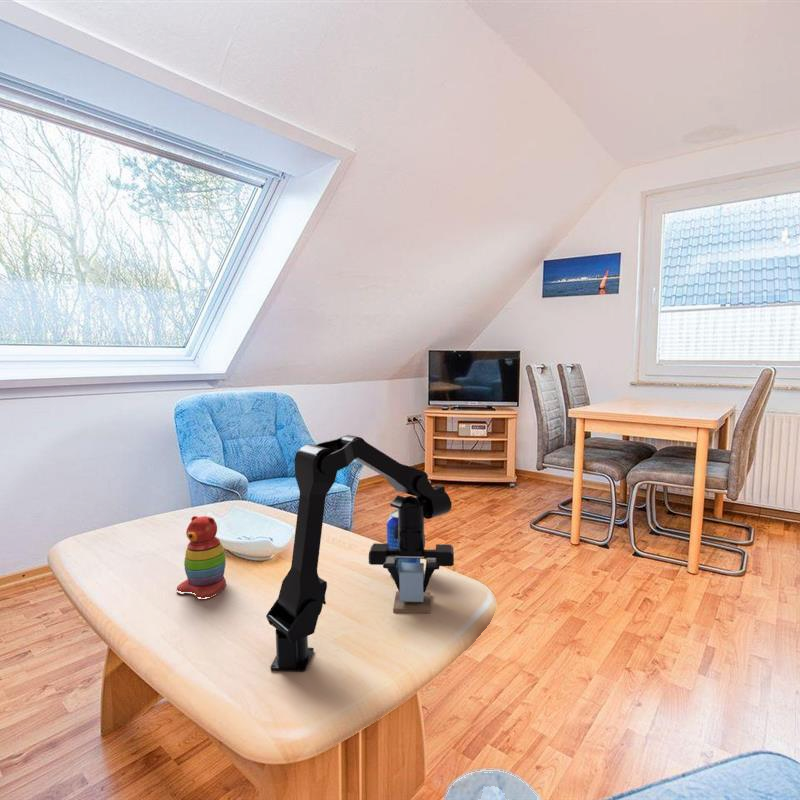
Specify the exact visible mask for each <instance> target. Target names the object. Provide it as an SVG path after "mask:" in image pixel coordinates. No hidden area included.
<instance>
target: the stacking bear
mask: <svg viewBox="0 0 800 800" xmlns="http://www.w3.org/2000/svg"><path fill="white" fill-rule="evenodd" d="M185 531H186V532H185V533H186V534H185V535H186V537H187V539H188V540H189V542H188V544H187V547H186V549H185V555H184V563H183V564H184V565H183V566H184V571H185V575H186V580H184V581H183V582H181V583H180V584H178V585H177V587H176V591H177V590H178V591H181V592H192V593H195V594H196V596H197V597H201V598H205V597H211V596H213V595H215V594H217V593H218V594H220V593H221V592H222V591H223V590H224V589H225V587H226V586H227V581H226V578H225V576H224V575H225V570H226V563H227V562H226V558H227V557H226V553H225V550H224V546H223V544H222V542H221V541H220V539H219V538H218V537H217V536H216V535H217V532H218V524H217V521H216V520H215V518H214V517H211V516H209V515H208V516H206V515H203V516H199V517H198V516H197V515H194V516H192V517H191V521H190V523H189V524H188V526H187V528H186V530H185ZM223 588H224V589H223ZM222 589H223V590H222ZM221 590H222V591H221ZM220 591H221V592H220ZM219 592H220V593H219ZM218 594H217V595H218ZM196 596H195V597H196Z"/></svg>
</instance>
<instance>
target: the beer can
mask: <svg viewBox="0 0 800 800" xmlns="http://www.w3.org/2000/svg"><path fill="white" fill-rule="evenodd" d="M395 525H398V509H395V510H392V511H391V512H390V515H389V517H388V519H387V521H386V544H389V549H399V539H395V538H394V531H395ZM398 563H399V572H400V566H401V563H421V559H413V558H398ZM387 571H388V570H387ZM388 573H389V574H390V572H389V571H388ZM390 576H391V577H392V575H391V574H390Z"/></svg>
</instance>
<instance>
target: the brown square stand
mask: <svg viewBox="0 0 800 800" xmlns="http://www.w3.org/2000/svg"><path fill="white" fill-rule="evenodd" d="M392 613H397V614H398V613H403V614H404V613H405V614H406V613H407V614H409V613H410V614H430V613H431V591H425V592H424V599H423V602H406V601H400V592H399V591H398V590H397V591H395V596H394V603H393V609H392Z"/></svg>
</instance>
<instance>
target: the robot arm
mask: <svg viewBox="0 0 800 800" xmlns="http://www.w3.org/2000/svg"><path fill="white" fill-rule="evenodd" d="M354 460H355V461H356V462H358V463H360V464H361V465H364V466H365V467H367V468H369V469H370V470H372V471H374V472H375V473H378V474H379V475H380V476H382V477H384V478H385V479H386V481H387V483H388V484H389V485H390V486H391V487H392V488H393V489H394V490H395V491H397V492H399V493H400V492H401V493H403V494H407V495H408V496H401V495H399V494H398V495H396V497H395V498H394V499H393V500H392V501H391V502H390V503H389V506H390V507H392V508H395V509H397V510H398V525H395V531H394V538H395V539H399V549H389V544H387V543H377V542H376V543H372V545H371V546H370V549H369V552H368V564H369V565H374V566H381V565H382V567H383V569H387V571H389V572H390V573H389V572H388V573H389V574H390V576H391V575H392V576H391V577H392V579H393V582H394V584H395V586H396V588H397V591H399V592H400V585H399V563H398V558H413V559H420V560H421V559H422V560H423V559H424V560H426V561H425V568H424V584H423V591H424V592H427V588H428V585H429V582H430V579H432V576H433V574H434V572H435V570H439V569H440V567H453V566H454V565H455V557H454V553H455V552H454V551H455V550H454V546H453V545H452V544H435V549H425V547H426V535H425V519H426V520H431V519H433V518H437V517H440V516H442V515H445V514H448V513H450V511H451V510H452V501H451V498H450V496H449V494H448V493H447V492H446V487H445V486H443V485H441V484H436V485H434V486H433V485H432V483H431V482H430V481H429V479H428V478H429V475H428V473H427V472H426V471H424V470H422V469H419V468H415V467H413V466H409V465H406V464H403V463H400V462H398V461H397V460H395V459H394V458H392V457H390V456H389V455H387V454H386V453H384V452H383V451H381V450H379V449H378V448H377V447H376V446H373V445H371V444H370V443H368V442H367V441H365V439H364V438H362V437H360V436H357V435H350V434H347V435H343V436H341V437H338V438H335V439H331V440H327V441H323V442H319V443H317V444H305V445H303V446H301V448H299V449H298V450H297V451H296V453H295V455H294V477H295V480H296V483H297V484H296V485H297V487H298V490H299V498H298V506H297V516H296V523H295V532H294V540H293V549H292V557H291V566H290V569H289V571H288V572H287V574H286V575H285V577H284V578H283V580H282V581H281V586H280V589H279V593H278V598H277V599H276V600H275V602H274V603H273V605H272V606H271V608H270V609H269V611H268V612H267V613H266V616H265V618H266V619H267V621H268V624H269V625H270V626H272V627H274V629H275V644H276V645H275V647H276V655H275V657H274V658H273V661H272V663H271V665H270V666H269V667H270V670H271V671H287V672H305V671H306V670H307V669H308V668H307V667H308V666H309V663H310V660H311V658H312V656H313V654H314V651H315V650H314V649H315V648H314V647H309V646H308V645H309V644H308V643H309V641H308V638H309V636H311V635H313V634H315V631H316V628H317V623H318V619H319V616H320V615H321V613H322V609H323V606H324V605H326V604H327V602H326V592H327V589H328V581H325V580H324V579H322V578H321V577H320V576H319V573H318V566H319V556H320V550H321V540H322V532H323V523H324V513H325V508H326V507H325V506H326V498H327V496H328V493H329V491H330V489H331V488H332V487H333V485H334V484H335V482H336V479H337V474H338V471H341V470H343V469H344V468H346V467H349V466H350V464H352V463H353V461H354Z"/></svg>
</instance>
